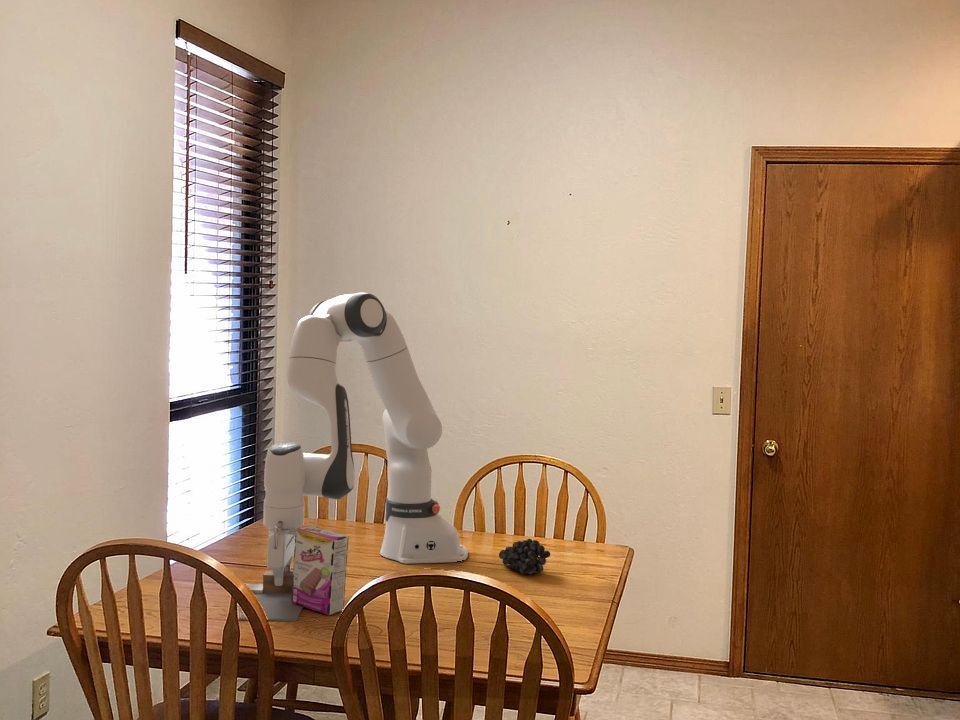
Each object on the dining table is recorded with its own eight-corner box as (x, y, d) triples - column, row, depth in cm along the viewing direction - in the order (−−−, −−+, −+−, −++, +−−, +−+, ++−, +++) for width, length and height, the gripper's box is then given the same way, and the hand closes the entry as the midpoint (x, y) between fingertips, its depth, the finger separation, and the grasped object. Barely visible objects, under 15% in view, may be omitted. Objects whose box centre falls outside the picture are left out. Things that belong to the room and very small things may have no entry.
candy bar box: (289, 603, 210) (294, 528, 209) (305, 598, 214) (310, 524, 213) (328, 616, 204) (334, 539, 202) (344, 611, 208) (350, 534, 207)
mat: (311, 590, 221) (311, 588, 221) (296, 621, 201) (296, 619, 201) (248, 589, 220) (248, 587, 220) (227, 619, 200) (227, 617, 200)
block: (301, 588, 221) (302, 570, 221) (298, 594, 216) (299, 576, 216) (243, 587, 221) (243, 569, 220) (239, 593, 216) (239, 575, 216)
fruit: (494, 528, 246) (535, 540, 234) (518, 534, 251) (559, 546, 239) (485, 562, 244) (526, 576, 233) (509, 568, 249) (550, 581, 238)
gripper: (290, 529, 207) (289, 593, 208) (305, 506, 227) (304, 565, 228) (260, 528, 207) (259, 592, 208) (277, 506, 227) (277, 564, 228)
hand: (282, 578), depth 218 cm, fingers open, 8 cm apart
